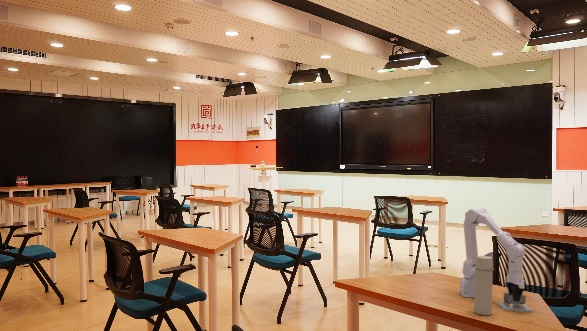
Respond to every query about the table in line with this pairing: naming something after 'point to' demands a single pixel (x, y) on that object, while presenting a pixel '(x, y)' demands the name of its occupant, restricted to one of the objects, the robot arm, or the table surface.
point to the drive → (510, 299)
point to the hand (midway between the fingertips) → (514, 299)
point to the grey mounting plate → (514, 307)
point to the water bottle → (483, 285)
